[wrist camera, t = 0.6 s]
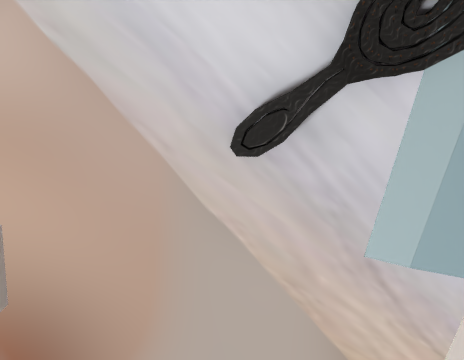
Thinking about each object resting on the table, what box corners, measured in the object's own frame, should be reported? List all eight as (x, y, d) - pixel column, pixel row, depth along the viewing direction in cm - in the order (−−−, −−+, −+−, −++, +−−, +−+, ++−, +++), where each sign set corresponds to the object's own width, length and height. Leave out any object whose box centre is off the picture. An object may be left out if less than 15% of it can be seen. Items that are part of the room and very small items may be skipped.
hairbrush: (195, 116, 29) (528, -157, 21) (206, 109, 33) (496, -128, 25) (261, 199, 30) (599, -30, 22) (265, 184, 34) (559, -19, 26)
